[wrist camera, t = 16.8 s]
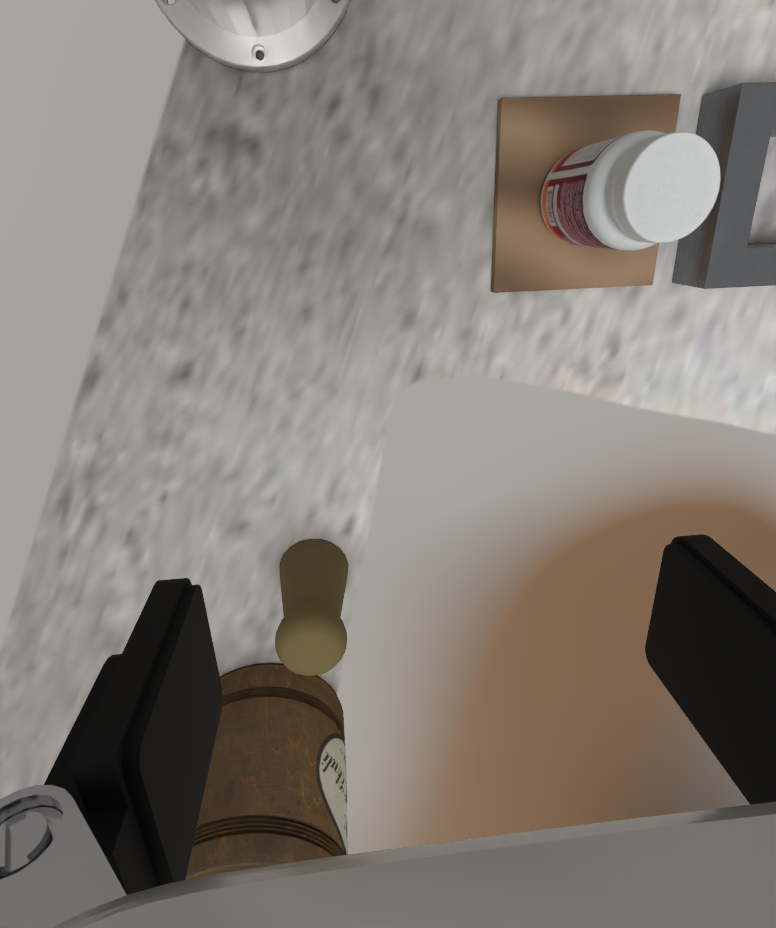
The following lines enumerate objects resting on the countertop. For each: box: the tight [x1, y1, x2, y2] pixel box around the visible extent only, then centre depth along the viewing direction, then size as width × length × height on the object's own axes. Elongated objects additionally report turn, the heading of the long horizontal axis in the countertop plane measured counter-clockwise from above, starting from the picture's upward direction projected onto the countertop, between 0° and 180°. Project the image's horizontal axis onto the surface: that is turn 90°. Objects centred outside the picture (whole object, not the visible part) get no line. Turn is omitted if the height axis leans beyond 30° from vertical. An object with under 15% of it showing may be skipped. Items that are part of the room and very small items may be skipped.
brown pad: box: [491, 94, 681, 293], centre depth 39 cm, size 12×12×1 cm
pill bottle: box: [541, 130, 720, 251], centre depth 34 cm, size 6×6×11 cm
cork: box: [275, 539, 348, 676], centre depth 45 cm, size 6×6×11 cm
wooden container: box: [185, 664, 348, 880], centre depth 46 cm, size 15×15×22 cm
